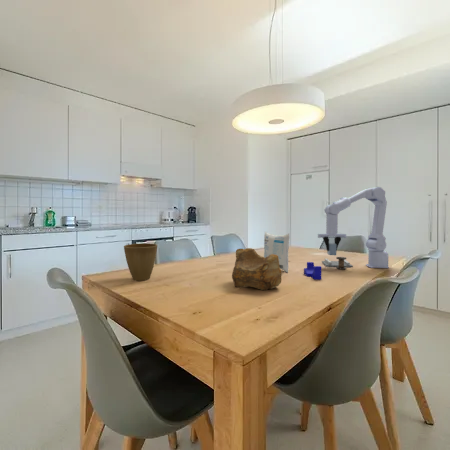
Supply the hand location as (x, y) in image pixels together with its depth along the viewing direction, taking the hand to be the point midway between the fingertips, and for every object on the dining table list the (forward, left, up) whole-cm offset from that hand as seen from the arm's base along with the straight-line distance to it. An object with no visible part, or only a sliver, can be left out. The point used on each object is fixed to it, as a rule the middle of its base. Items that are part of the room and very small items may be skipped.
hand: (331, 250), depth 154 cm
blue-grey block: (0, 0, -2) cm, 2 cm away
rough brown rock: (+41, +45, -10) cm, 62 cm away
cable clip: (+13, +23, -10) cm, 28 cm away
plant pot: (+92, +40, -10) cm, 101 cm away
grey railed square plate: (-5, -9, -9) cm, 14 cm away
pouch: (+30, +9, -10) cm, 33 cm away
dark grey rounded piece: (-5, +2, -9) cm, 11 cm away
